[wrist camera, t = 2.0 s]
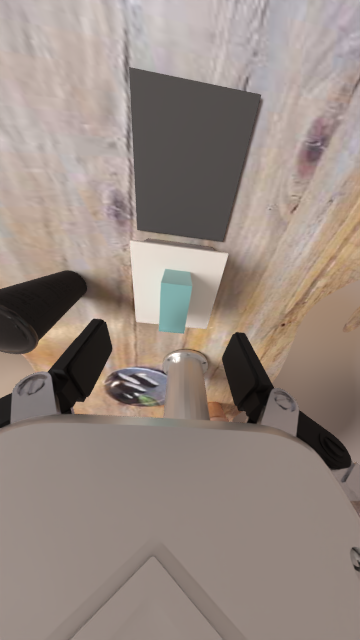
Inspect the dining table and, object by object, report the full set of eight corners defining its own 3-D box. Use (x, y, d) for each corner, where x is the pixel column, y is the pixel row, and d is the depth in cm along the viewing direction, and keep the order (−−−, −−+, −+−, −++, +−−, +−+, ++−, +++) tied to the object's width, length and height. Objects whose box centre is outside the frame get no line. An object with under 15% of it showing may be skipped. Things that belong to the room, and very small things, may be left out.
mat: (222, 241, 22) (222, 241, 22) (138, 229, 21) (137, 229, 21) (259, 97, 14) (261, 94, 14) (130, 70, 14) (129, 67, 13)
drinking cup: (80, 258, 24) (-141, 345, 7) (102, 298, 28) (-8, 409, 12) (40, 265, 24) (-243, 358, 8) (66, 303, 29) (-81, 413, 13)
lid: (204, 322, 24) (211, 350, 19) (138, 315, 23) (126, 343, 18) (224, 250, 17) (242, 264, 12) (134, 238, 17) (113, 247, 12)
